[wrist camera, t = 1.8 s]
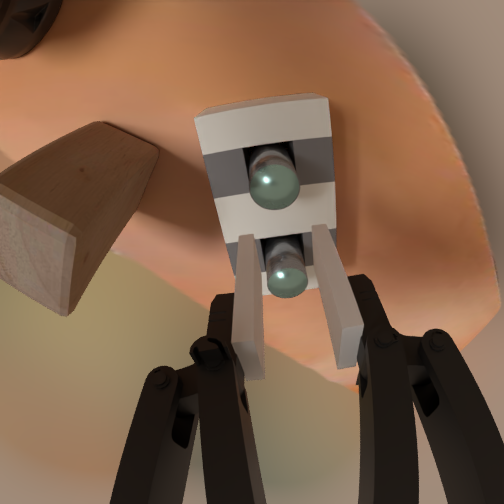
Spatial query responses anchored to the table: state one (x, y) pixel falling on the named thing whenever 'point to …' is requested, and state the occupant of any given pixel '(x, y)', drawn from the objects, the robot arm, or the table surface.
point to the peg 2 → (285, 266)
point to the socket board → (237, 167)
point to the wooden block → (69, 210)
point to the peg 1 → (272, 177)
